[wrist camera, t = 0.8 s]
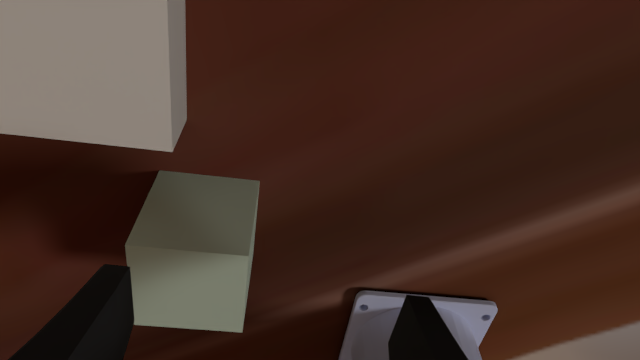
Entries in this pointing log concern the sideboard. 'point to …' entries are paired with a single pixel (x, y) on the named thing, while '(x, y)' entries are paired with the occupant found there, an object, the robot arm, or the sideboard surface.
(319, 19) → the sideboard surface
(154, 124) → the grey base
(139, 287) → the green block
